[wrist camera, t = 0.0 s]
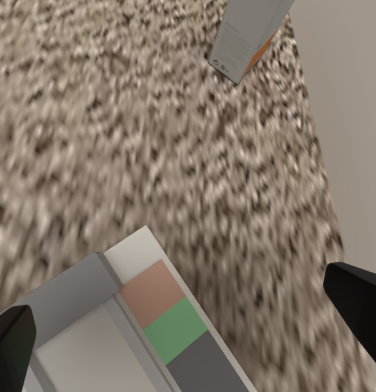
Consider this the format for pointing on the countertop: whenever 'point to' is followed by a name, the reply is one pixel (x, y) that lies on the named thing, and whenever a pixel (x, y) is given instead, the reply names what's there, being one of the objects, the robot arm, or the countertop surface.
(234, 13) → the skincare box
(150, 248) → the gauge base
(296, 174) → the countertop surface
